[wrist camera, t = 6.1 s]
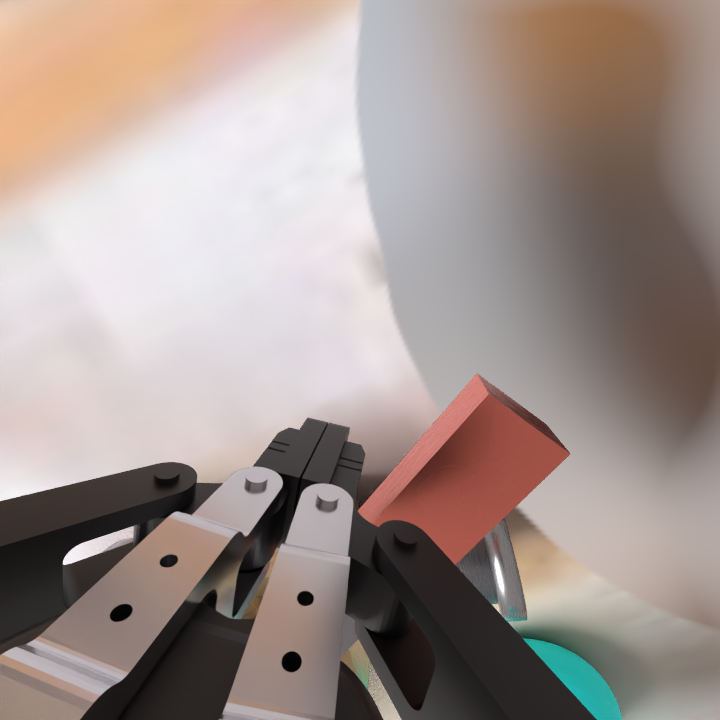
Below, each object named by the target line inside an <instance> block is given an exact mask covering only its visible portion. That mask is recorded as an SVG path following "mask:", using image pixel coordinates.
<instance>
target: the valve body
mask: <svg viewBox="0 0 720 720" xmlns="http://www.w3.org/2000/svg"><path fill="white" fill-rule="evenodd" d="M355 506H356V509H357V511H358V510H359V509H360V507H359V504H358V501H357V497H355ZM131 542H133V538H129V539H123V540H120V541H118V542H116V543H114V544H112V545H111V546H109V547H108V548H107V549H106V550H105V551H108V550H111V549H114V548H117V547H119V546H122V545H125V544H128V543H131ZM279 549H280V548H276V550H275V552H274V555H273V557H272V558H271V560H270V566H269V570H268V572H267V574H266V576H265V578H264V580H263V581H262V583H261V585H260V587H259V588H258V590H257V592H256V594H255V596H254V597H253V599H252V601H251V603H250V604H249V606H248V608H247V610H246V612H245V613H244V615H243V617H242V619H256V616H257V613H258V610H259V607H260V604H261V601H262V598H263V595H264V592H265V590H266V587H267V584H268V581H269V578H270V575H271V572H272V569H273V566H274V563H275V560H276V557H277V555H278V552H279ZM105 551H104V552H105ZM456 566H457V567H458V569H459V570H460V571H461V572H462V573H463V574H464V575H465V576H466V577H467V578H468V579H469V581H470V582H471V583H472V584H473V585H474V586H475V587H476V588H477V589H478V590H479V591H480V593H481V594H482V595H483V596H484V597H485V598H486V599H487V600H488V601H489V602H490V603H491V604H498V606H499V610H500V613H501V615H502V617H503V618H504V619H505V620H506V621H507V622H509V621H521V620H527V611H526V604H525V599H524V594H523V589H522V585H521V580H520V576H519V571H518V567H517V563H516V559H515V555H514V551H513V547H512V543H511V540H510V536H509V532H508V529H507V525H506V522H505V518H503V519H502V520H501V521H500V522H499V523H498V524H497V525H496V526H495V527H494V528H493V529H492V530H491V531H490V532H489V533H488V534H487V535H486V536H485V537H484V538H483V539H481V540H480V541H479V542H478V543H477V544H476V545H475V546H474V547H473V548H472V549H471V550H470V551H469V552H468V553H467V554H466V555H465V556H464V557H463V558H462V559H461V560H460V561H459V562H458V563H457V564H456ZM340 660H341V661H342V662H344V663H345V664H346V665H347V666H348V667H349V668H350V669H351V670H352V671H353V672H354V673H355V674H356V675H357V676H358V678H359V679H360V680H361V682H362V683H363V684H364V685H365V687H366V689H367V690H368V681H369V671H370V660H369V658H368V656H367V654H366V652H365V651H364V649H363V647H362V645H361V643H360V641H359V639H358V640H357V641H356V642H355V643H354V644H353V645H352V646H351V647H350V648H349V649H348V650H347V651H346V652H345V653H344V654H343V655H342V656H341V658H340Z"/></svg>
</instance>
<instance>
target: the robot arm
mask: <svg viewBox="0 0 720 720" xmlns="http://www.w3.org/2000/svg"><path fill="white" fill-rule="evenodd" d="M349 429H350V428H349V427H345V426H341V425H337V424H332V423H329V424H328V422H324V421H320V420H316V419H311V418H307V419H306V421H305V422H304V424H303V425H302V427H301V428H300V430H297V429H293V428H287V429H285V430H283V431H281V432H279V433H278V434H277V435H276V437H275V438H274V439H273V441H272V442H271V443H270V445H269V446H268V448H267V449H266V450H265V451H264V452H263V454H262V455H261V456H260V458H259V459H258V460H257V462H256V463H255V464H254V466H253V467H247V468H243V469H240V470H238V471H236V472H235V473H233V474H232V475H231V476H230V477H229V478H228V479H227V480H226V481H225V482H224V483H196V482H197V473H196V471H195V470H194V469H193V468H192V467H190V466H188V465H185V464H182V463H175V462H167V463H160V464H155V465H151V466H147V467H142V468H138V469H134V470H130V471H126V472H121V473H117V474H113V475H109V476H105V477H100V478H96V479H92V480H88V481H84V482H79V483H75V484H71V485H67V486H63V487H58V488H54V489H50V490H46V491H42V492H37V493H33V494H29V495H25V496H21V497H16V498H12V499H8V500H4V501H0V720H383V718H382V716H381V714H380V712H379V710H378V708H377V706H376V704H375V702H374V700H373V698H372V697H371V695H370V693H369V692H368V690H367V689H366V687H365V685H364V684H363V683H362V682H361V680H360V679H359V678H358V676H357V675H356V674H355V673H354V672H353V671H352V670H351V669H350V668H349V667H348V666H347V665H346V664H345V663H344V662H342V661H341V660H340V658H341V648H342V638H343V628H344V618H345V614H346V615H348V616H349V617H351V618H352V619H354V629H355V633H356V635H357V638H358V639H359V641H360V643H361V645H362V647H363V649H364V651H365V652H366V654H367V656H368V658H369V660H370V662H371V663H372V665H373V667H374V669H375V671H376V673H377V675H378V676H379V678H380V680H381V682H382V684H383V686H384V687H385V689H386V691H387V693H388V695H389V697H390V699H391V700H392V702H393V704H394V706H395V708H396V710H397V712H398V713H399V715H400V717H401V719H402V720H597V719H596V718H595V717H594V716H593V715H592V714H591V713H590V712H589V710H588V709H587V708H586V707H585V706H584V705H583V704H582V703H581V702H580V701H579V700H578V698H577V697H576V696H575V695H574V694H573V693H572V692H571V691H570V690H569V689H568V688H567V686H566V685H565V684H564V683H563V682H562V681H561V680H560V679H559V678H558V677H557V676H556V674H555V673H554V672H553V671H552V670H551V669H550V668H549V667H548V666H547V665H546V664H545V662H544V661H543V660H542V659H541V658H540V657H539V656H538V655H537V654H536V653H535V652H534V650H533V649H532V648H531V647H530V646H529V645H528V644H527V643H526V642H525V641H524V640H523V638H522V637H521V636H520V635H519V634H518V633H517V632H516V631H515V630H514V629H513V628H512V626H511V625H510V624H509V623H508V622H507V621H506V620H505V619H504V618H503V617H502V615H501V614H500V613H499V612H498V611H497V610H496V609H495V608H494V607H493V606H492V605H491V603H490V602H489V601H488V600H487V599H486V598H485V597H484V596H483V595H482V594H481V593H480V591H479V590H478V589H477V588H476V587H475V586H474V585H473V584H472V583H471V582H470V581H469V579H468V578H467V577H466V576H465V575H464V574H463V573H462V572H461V571H460V570H459V569H458V567H457V566H456V565H455V564H454V563H453V562H452V561H451V560H450V559H449V558H448V557H447V555H446V554H445V553H444V552H443V551H442V550H441V549H440V548H439V547H438V546H437V545H436V543H435V542H434V541H433V540H432V539H431V538H430V537H429V536H428V535H427V534H426V533H425V532H424V531H423V530H422V529H421V528H419V527H418V526H416V525H414V524H412V523H409V522H406V521H402V520H390V521H387V522H384V523H382V524H381V525H380V526H379V527H377V526H376V525H374V524H372V523H370V522H368V521H367V520H366V519H364V518H363V517H362V516H361V515H360V514H359V512H358V511H357V509H356V506H355V497H356V493H357V488H358V484H359V479H360V475H361V471H362V466H363V462H364V457H365V452H364V450H363V448H362V446H361V445H359V444H355V443H351V442H347V440H348V435H349ZM131 526H134V536H133V542H131V543H128V544H125V545H122V546H119V547H117V548H114V549H111V550H108V551H105V552H103V553H100V554H97V555H94V556H91V557H89V558H86V559H83V560H80V561H77V562H75V563H72V564H68V565H63V559H64V557H65V556H66V554H67V553H68V552H69V551H70V550H71V549H72V548H74V547H75V546H77V545H79V544H81V543H83V542H86V541H89V540H92V539H95V538H98V537H101V536H104V535H107V534H110V533H113V532H116V531H119V530H122V529H125V528H128V527H131ZM276 548H280V549H279V552H278V555H277V557H276V560H275V563H274V566H273V569H272V572H271V575H270V578H269V581H268V584H267V587H266V590H265V592H264V595H263V598H262V601H261V604H260V607H259V610H258V613H257V616H256V619H242V617H243V615H244V613H245V612H246V610H247V608H248V606H249V604H250V603H251V601H252V599H253V597H254V596H255V594H256V592H257V590H258V588H259V587H260V585H261V583H262V581H263V580H264V578H265V576H266V574H267V572H268V570H269V566H270V560H271V558H272V557H273V555H274V552H275V550H276Z"/></svg>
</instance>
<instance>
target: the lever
mask: <svg viewBox="0 0 720 720" xmlns="http://www.w3.org/2000/svg"><path fill="white" fill-rule="evenodd" d="M569 455H570V453H569V451H568V450H567V449H566V448H565V447H564V445H563V444H562V443H561V442H560V440H559V439H558V438H557V437H556V436H555V434H554V433H553V432H552V431H551V430H550V428H549V427H548V426H547V425H546V424H545V423H544V422H542V421H541V420H540V419H538V418H537V417H536V416H534V415H533V414H532V413H530V412H528V411H527V410H526V409H525V408H523V407H522V406H520V405H519V404H518V403H517V402H515V401H514V400H512V399H511V398H510V397H508V396H507V395H505V394H504V393H503V392H501V391H500V390H499V389H498V388H496V387H495V386H493V385H492V384H491V383H489V382H488V381H487V380H485V379H484V378H482V377H481V376H480V375H478V374H476V375H475V376H474V377H473V379H472V380H471V381H470V382H469V383H468V384H467V385H466V387H465V388H464V389H463V390H462V391H461V392H460V394H459V395H458V396H457V397H456V398H455V399H454V400H453V402H452V403H451V404H450V405H449V406H448V407H447V409H446V410H445V411H444V412H443V413H442V414H441V415H440V417H439V418H438V419H437V420H436V421H435V422H434V424H433V425H432V426H431V427H430V428H429V429H428V430H427V432H426V433H425V434H424V435H423V436H422V437H421V438H420V440H419V441H418V442H417V443H416V444H415V445H414V447H413V448H412V449H411V450H410V451H409V452H408V453H407V455H406V456H405V457H404V458H403V459H402V460H401V462H400V463H399V464H398V465H397V466H396V467H395V468H394V470H393V471H392V472H391V473H390V474H389V475H388V477H387V478H386V479H385V480H384V481H383V482H382V483H381V485H380V486H379V487H378V488H377V489H376V490H375V491H374V493H373V494H372V495H371V496H370V497H369V498H368V500H367V501H366V502H365V503H364V504H363V505H362V506H361V508H360V509H359V510H358V512H359V514H360V515H361V516H362V517H363V518H364V519H366V520H367V521H368V522H370V523H372V524H374V525H376V526H377V527H379V526H380V525H381V524H382V523H384V522H387V521H390V520H402V521H406V522H409V523H412V524H414V525H416V526H418V527H419V528H421V529H422V530H423V531H424V532H425V533H426V534H427V535H428V536H429V537H430V538H431V539H432V540H433V541H434V542H435V543H436V545H437V546H438V547H439V548H440V549H441V550H442V551H443V552H444V553H445V554H446V555H447V557H448V558H449V559H450V560H451V561H452V562H453V563H454V564H455V565H456V564H457V563H458V562H459V561H460V560H461V559H462V558H463V557H464V556H465V555H466V554H467V553H468V552H469V551H470V550H471V549H472V548H473V547H474V546H475V545H476V544H477V543H478V542H479V541H480V540H481V539H483V538H484V537H485V536H486V535H487V534H488V533H489V532H490V531H491V530H492V529H493V528H494V527H495V526H496V525H497V524H498V523H499V522H500V521H501V520H502V519H503V518H504V517H505V516H506V515H507V514H508V513H510V512H511V511H512V510H513V509H514V508H515V507H516V506H517V505H518V504H519V503H520V502H521V501H522V500H523V499H524V498H525V497H526V496H527V495H528V494H529V493H530V492H531V491H532V490H533V489H534V488H535V487H536V486H537V485H539V484H540V483H541V482H542V481H543V480H544V479H545V478H546V477H547V476H548V475H549V474H550V473H551V472H552V471H553V470H554V469H555V468H556V467H557V466H558V465H559V464H560V463H561V462H562V461H564V460H565V459H566V458H567V457H568V456H569ZM357 640H358V638H357V635H356V633H355V629H354V619H352V618H351V617H349V616H348V615H346V614H345V618H344V628H343V638H342V648H341V656H342V655H343V654H344V653H345V652H346V651H347V650H348V649H349V648H350V647H351V646H352V645H353V644H354V643H355V642H356V641H357Z"/></svg>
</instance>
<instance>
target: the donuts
mask: <svg viewBox="0 0 720 720" xmlns="http://www.w3.org/2000/svg"><path fill="white" fill-rule="evenodd" d="M523 640H524V641H525V642H526V643H527V644H528V645H529V646H530V647H531V648H532V649H533V650H534V652H535V653H536V654H537V655H538V656H539V657H540V658H541V659H542V660H543V661H544V662H545V664H546V665H547V666H548V667H549V668H550V669H551V670H552V671H553V672H554V673H555V674H556V676H557V677H558V678H559V679H560V680H561V681H562V682H563V683H564V684H565V685H566V686H567V688H568V689H569V690H570V691H571V692H572V693H573V694H574V695H575V696H576V697H577V698H578V700H579V701H580V702H581V703H582V704H583V705H584V706H585V707H586V708H587V709H588V710H589V712H590V713H591V714H592V715H593V716H594V717H595V718H596V719H597V720H623V719H622V715H621V711H620V708H619V705H618V702H617V700H616V698H615V696H614V694H613V692H612V690H611V688H610V687H609V685H608V684H607V683H606V681H605V680H604V679H603V677H602V676H601V675H600V674H599V673H598V672H597V671H596V670H595V669H594V668H593V667H592V666H591V665H590V664H589V663H587V662H586V661H585V660H584V659H582V658H581V657H579V656H578V655H576V654H575V653H573V652H571V651H569V650H567V649H565V648H563V647H560V646H558V645H555V644H552V643H549V642H545V641H541V640H535V639H525V638H523Z"/></svg>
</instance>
